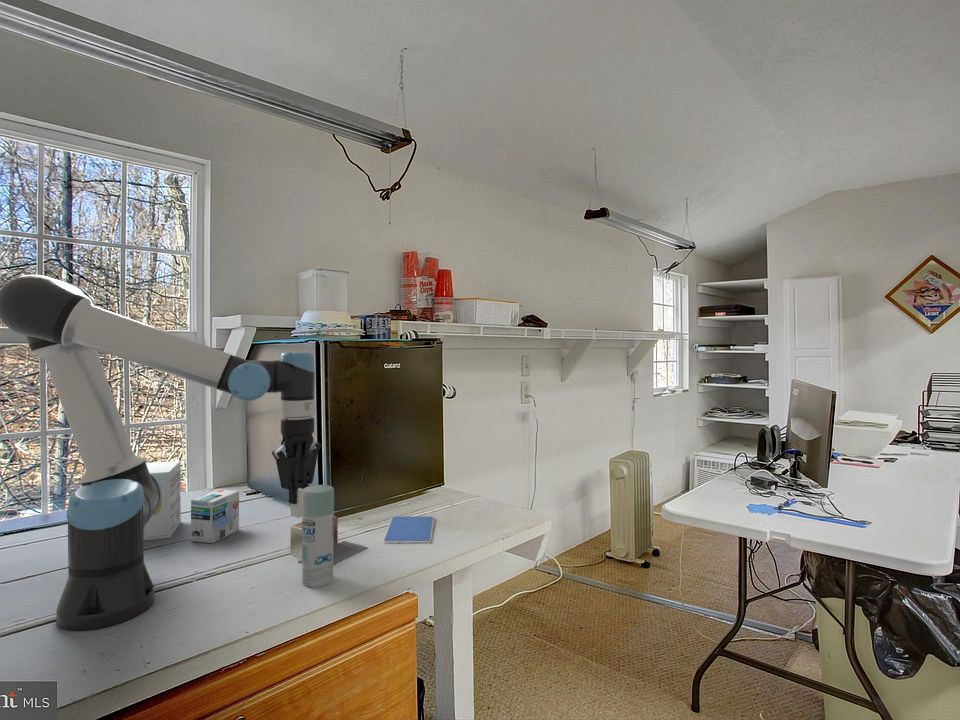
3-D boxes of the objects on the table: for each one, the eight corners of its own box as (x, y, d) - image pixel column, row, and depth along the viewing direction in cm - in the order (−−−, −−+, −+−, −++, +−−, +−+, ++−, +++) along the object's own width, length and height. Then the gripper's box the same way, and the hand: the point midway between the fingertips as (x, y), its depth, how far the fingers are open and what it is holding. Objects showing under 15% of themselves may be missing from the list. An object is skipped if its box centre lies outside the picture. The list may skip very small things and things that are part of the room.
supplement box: (110, 544, 131) (109, 474, 130) (126, 526, 143) (126, 463, 143) (170, 538, 135) (170, 471, 134) (181, 521, 148) (181, 460, 147)
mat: (322, 569, 118) (322, 569, 118) (297, 562, 122) (297, 561, 122) (367, 547, 131) (367, 547, 131) (343, 541, 135) (343, 540, 135)
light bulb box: (212, 544, 132) (212, 501, 131) (189, 541, 133) (189, 499, 133) (240, 529, 142) (240, 490, 142) (218, 527, 144) (218, 488, 143)
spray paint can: (339, 581, 112) (339, 489, 112) (310, 591, 108) (311, 495, 107) (324, 571, 117) (325, 483, 116) (296, 580, 113) (296, 488, 112)
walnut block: (303, 529, 123) (337, 516, 133) (290, 526, 126) (324, 513, 135) (303, 559, 124) (337, 544, 133) (290, 555, 126) (324, 540, 135)
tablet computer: (431, 546, 134) (431, 541, 134) (381, 546, 134) (381, 541, 134) (434, 520, 154) (434, 516, 153) (391, 520, 153) (391, 516, 153)
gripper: (286, 422, 116) (285, 527, 117) (329, 415, 128) (329, 511, 128) (263, 419, 120) (263, 520, 121) (307, 413, 131) (307, 506, 132)
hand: (297, 515), depth 124 cm, fingers closed
